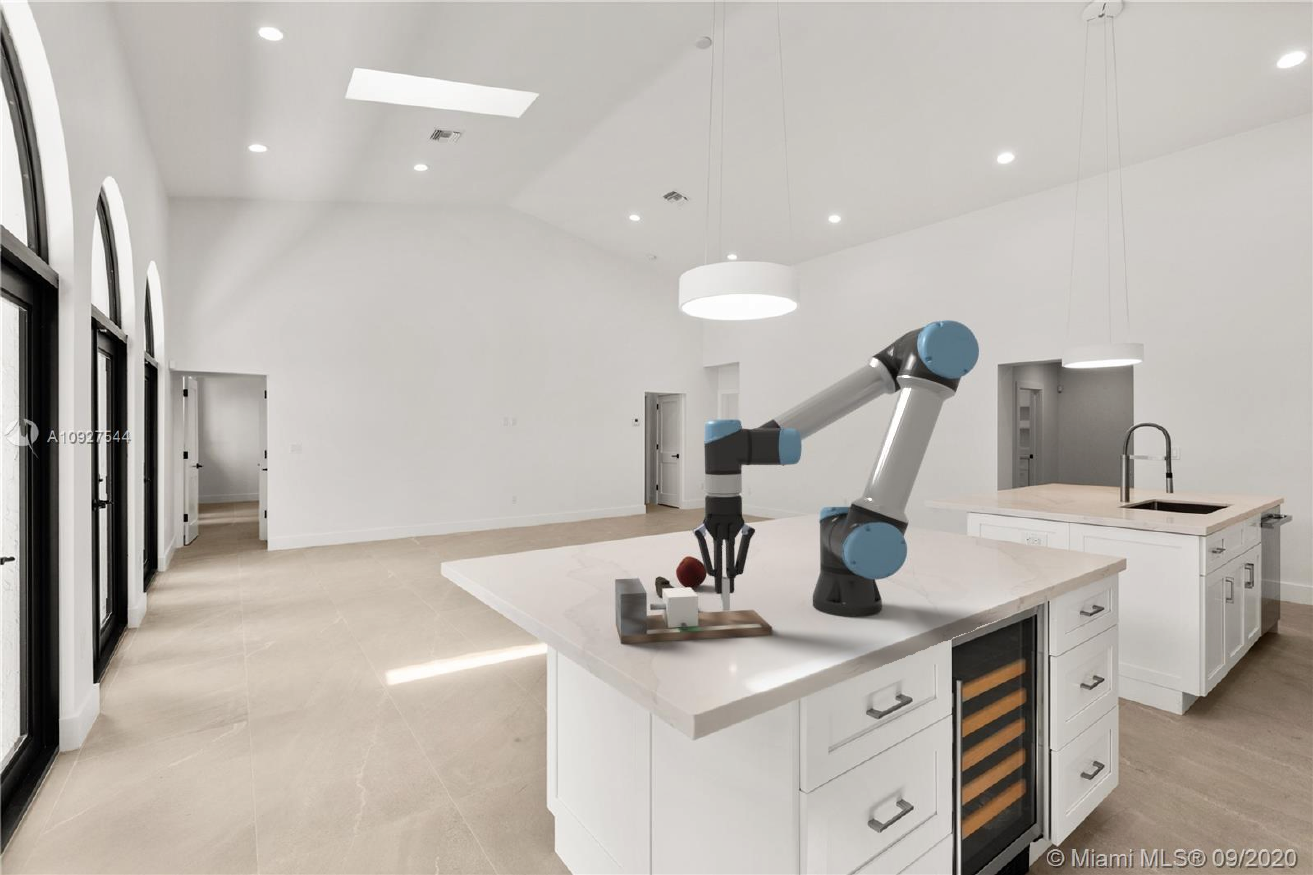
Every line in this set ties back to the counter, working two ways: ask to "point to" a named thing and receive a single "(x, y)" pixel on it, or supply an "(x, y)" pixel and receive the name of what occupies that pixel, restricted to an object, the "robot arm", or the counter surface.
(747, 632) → the gauge board
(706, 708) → the counter surface
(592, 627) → the counter surface
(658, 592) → the hand tool
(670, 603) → the gauge slider
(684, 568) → the apple
